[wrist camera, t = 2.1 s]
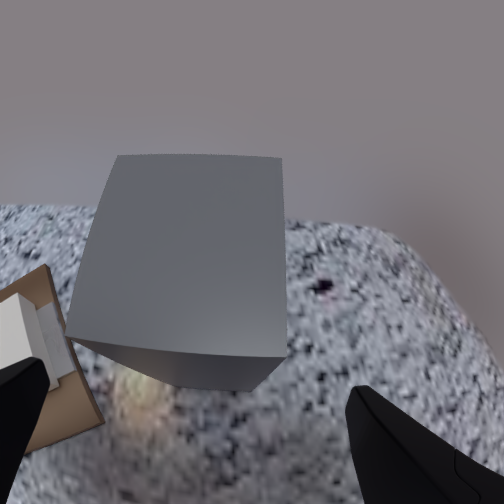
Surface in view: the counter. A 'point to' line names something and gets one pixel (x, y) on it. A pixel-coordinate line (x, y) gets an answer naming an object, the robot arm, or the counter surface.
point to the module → (187, 270)
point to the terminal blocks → (22, 335)
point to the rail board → (70, 387)
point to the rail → (55, 341)
